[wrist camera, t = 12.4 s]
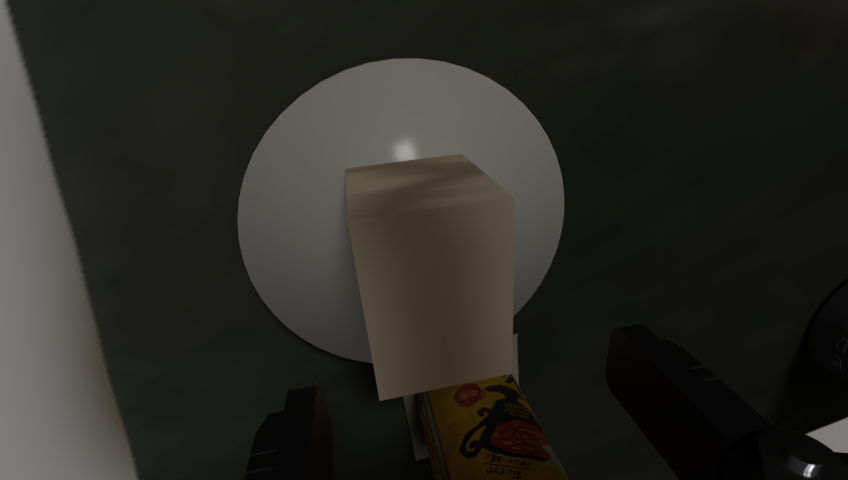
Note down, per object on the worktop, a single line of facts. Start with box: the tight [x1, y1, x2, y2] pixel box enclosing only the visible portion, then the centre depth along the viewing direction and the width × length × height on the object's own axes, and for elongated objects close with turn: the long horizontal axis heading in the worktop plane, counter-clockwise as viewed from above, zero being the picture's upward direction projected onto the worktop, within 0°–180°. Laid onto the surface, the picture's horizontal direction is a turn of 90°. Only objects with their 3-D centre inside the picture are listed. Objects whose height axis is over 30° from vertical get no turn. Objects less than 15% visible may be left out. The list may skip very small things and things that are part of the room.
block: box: [346, 154, 514, 401], centre depth 16 cm, size 5×7×6 cm
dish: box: [237, 58, 564, 363], centre depth 19 cm, size 15×15×1 cm
